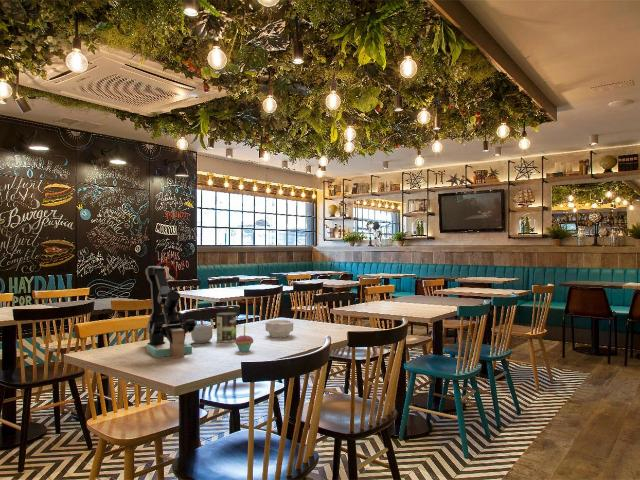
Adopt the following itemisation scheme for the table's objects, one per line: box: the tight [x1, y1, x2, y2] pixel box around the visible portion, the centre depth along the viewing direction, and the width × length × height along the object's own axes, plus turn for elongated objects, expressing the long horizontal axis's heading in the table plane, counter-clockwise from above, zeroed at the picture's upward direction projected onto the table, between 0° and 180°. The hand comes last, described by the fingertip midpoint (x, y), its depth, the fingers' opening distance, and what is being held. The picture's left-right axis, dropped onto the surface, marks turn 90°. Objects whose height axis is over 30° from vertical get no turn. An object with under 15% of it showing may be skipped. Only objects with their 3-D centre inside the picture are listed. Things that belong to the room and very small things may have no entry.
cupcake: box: [234, 324, 254, 353], centre depth 223 cm, size 9×8×12 cm
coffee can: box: [216, 311, 237, 343], centre depth 248 cm, size 10×10×14 cm
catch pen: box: [146, 341, 193, 358], centre depth 221 cm, size 16×16×3 cm
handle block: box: [169, 328, 185, 360], centre depth 211 cm, size 5×5×12 cm
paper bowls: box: [265, 319, 294, 338], centre depth 260 cm, size 15×15×8 cm
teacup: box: [190, 324, 213, 344], centre depth 245 cm, size 14×11×8 cm
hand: (177, 342), depth 210 cm, fingers closed on handle block, 5 cm apart
